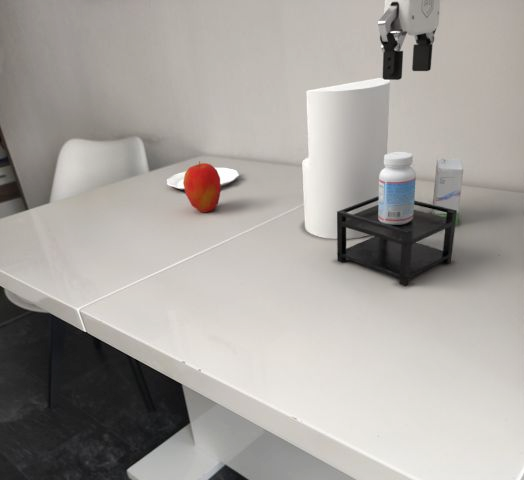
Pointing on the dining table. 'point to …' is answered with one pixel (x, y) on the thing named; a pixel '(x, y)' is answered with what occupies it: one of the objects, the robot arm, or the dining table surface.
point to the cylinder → (344, 152)
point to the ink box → (447, 185)
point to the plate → (224, 173)
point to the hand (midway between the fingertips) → (407, 74)
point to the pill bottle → (396, 189)
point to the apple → (202, 186)
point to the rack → (396, 240)
